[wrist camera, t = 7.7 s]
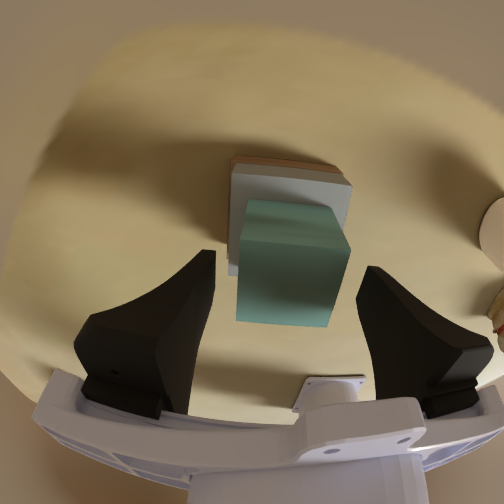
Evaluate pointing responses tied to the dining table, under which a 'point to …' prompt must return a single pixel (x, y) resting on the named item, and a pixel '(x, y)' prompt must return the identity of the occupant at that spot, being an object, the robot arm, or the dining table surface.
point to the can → (493, 233)
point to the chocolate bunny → (498, 317)
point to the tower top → (282, 195)
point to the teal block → (289, 264)
